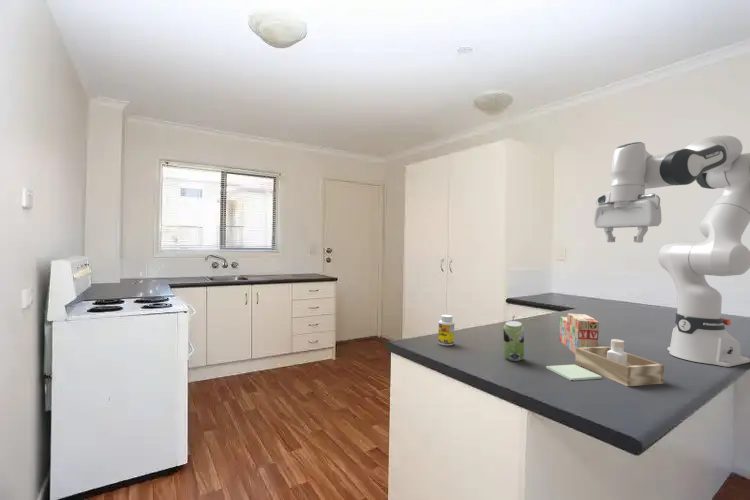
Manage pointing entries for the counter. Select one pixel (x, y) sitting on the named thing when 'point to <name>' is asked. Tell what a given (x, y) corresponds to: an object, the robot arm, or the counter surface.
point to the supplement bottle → (446, 330)
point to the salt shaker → (617, 352)
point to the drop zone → (573, 372)
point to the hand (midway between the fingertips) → (624, 242)
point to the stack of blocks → (579, 331)
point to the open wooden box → (620, 367)
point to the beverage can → (513, 340)
